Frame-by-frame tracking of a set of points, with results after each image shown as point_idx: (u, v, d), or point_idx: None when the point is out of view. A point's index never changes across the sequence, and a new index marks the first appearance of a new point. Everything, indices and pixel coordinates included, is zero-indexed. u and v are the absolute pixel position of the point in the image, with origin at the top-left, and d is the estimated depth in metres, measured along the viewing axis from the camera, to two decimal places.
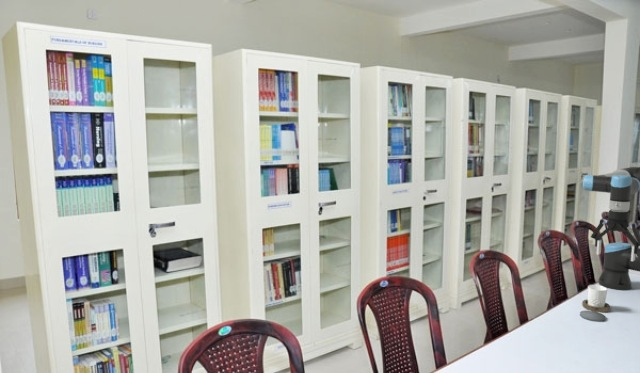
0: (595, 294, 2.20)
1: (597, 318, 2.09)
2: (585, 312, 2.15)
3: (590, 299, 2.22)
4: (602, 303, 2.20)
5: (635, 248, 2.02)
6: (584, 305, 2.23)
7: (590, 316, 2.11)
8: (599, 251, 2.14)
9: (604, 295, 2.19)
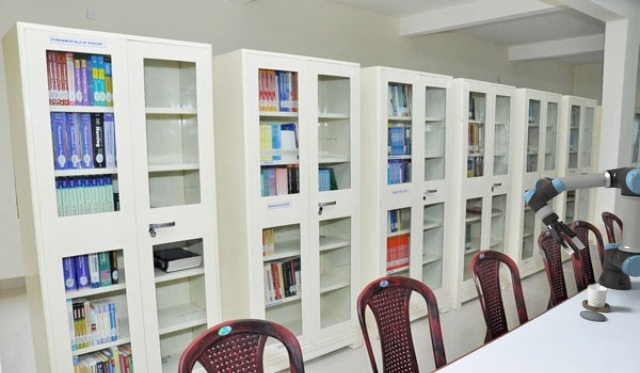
0: (595, 294, 2.20)
1: (597, 318, 2.09)
2: (585, 312, 2.15)
3: (590, 299, 2.22)
4: (602, 303, 2.20)
5: None
6: (584, 305, 2.23)
7: (590, 316, 2.11)
8: (580, 246, 2.32)
9: (604, 295, 2.19)
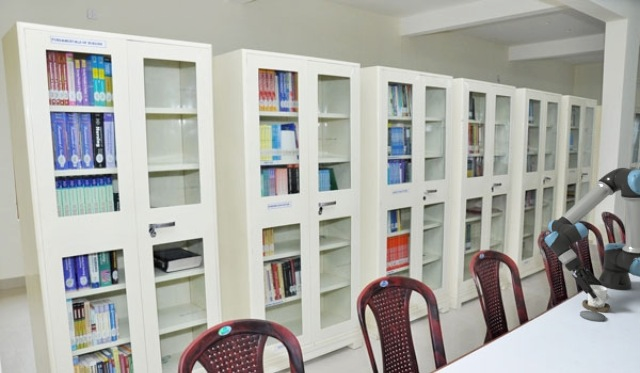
0: None
1: (597, 318, 2.09)
2: (585, 312, 2.15)
3: (590, 299, 2.22)
4: (602, 303, 2.20)
5: None
6: (584, 305, 2.23)
7: (590, 316, 2.11)
8: None
9: (604, 295, 2.19)
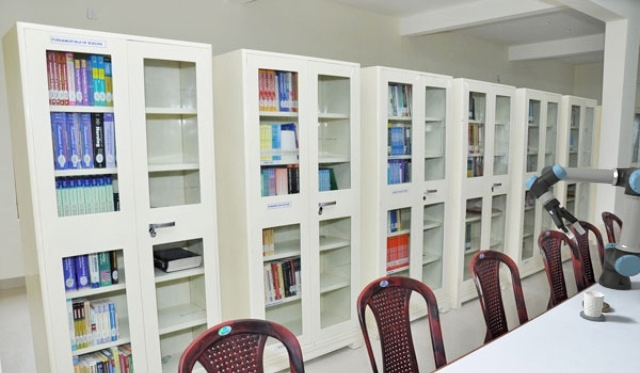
0: (591, 300, 2.09)
1: (597, 318, 2.09)
2: None
3: (586, 306, 2.11)
4: (599, 310, 2.09)
5: None
6: None
7: None
8: (581, 231, 2.38)
9: (601, 301, 2.08)
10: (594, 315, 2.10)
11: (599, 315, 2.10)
